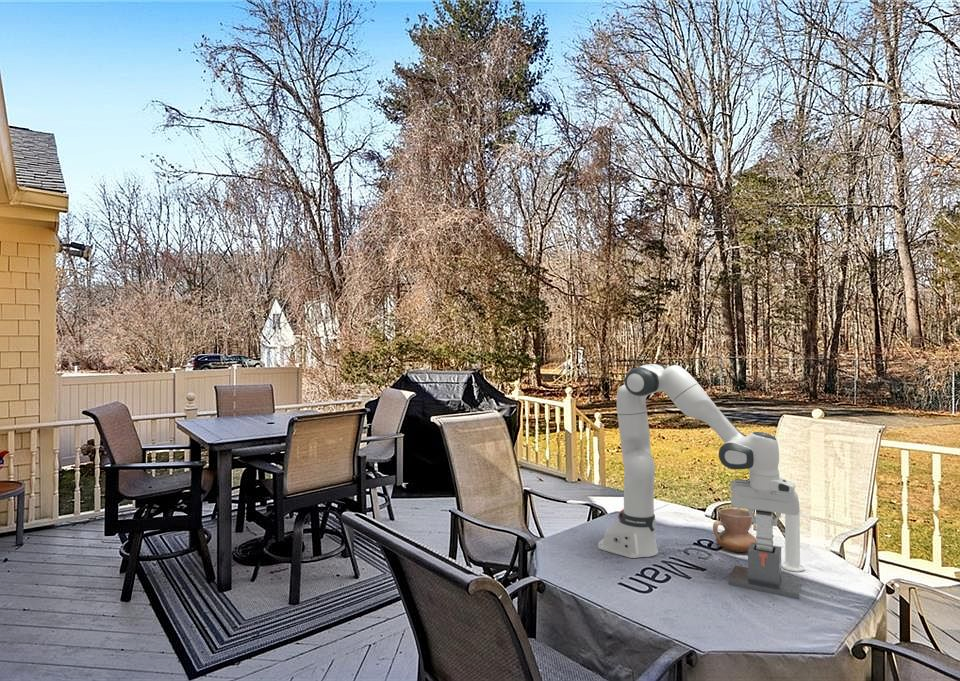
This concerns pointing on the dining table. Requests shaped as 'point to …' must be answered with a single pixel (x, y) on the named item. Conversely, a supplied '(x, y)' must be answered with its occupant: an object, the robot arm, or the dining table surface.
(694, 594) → the dining table surface
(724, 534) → the ceramic jug
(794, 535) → the candle
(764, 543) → the column
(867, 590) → the dining table surface
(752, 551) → the stand housing
